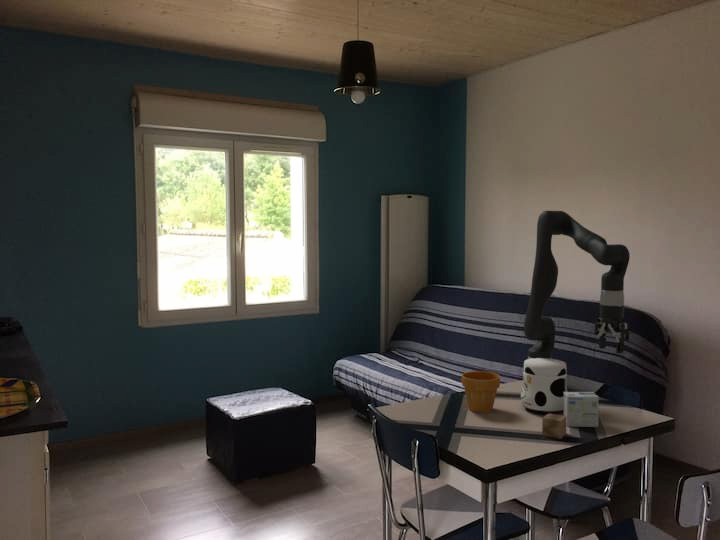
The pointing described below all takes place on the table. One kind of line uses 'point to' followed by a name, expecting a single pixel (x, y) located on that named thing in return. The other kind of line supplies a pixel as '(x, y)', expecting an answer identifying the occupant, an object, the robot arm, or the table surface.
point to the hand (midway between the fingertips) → (610, 350)
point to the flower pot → (480, 390)
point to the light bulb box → (581, 409)
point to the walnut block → (554, 426)
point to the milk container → (544, 385)
